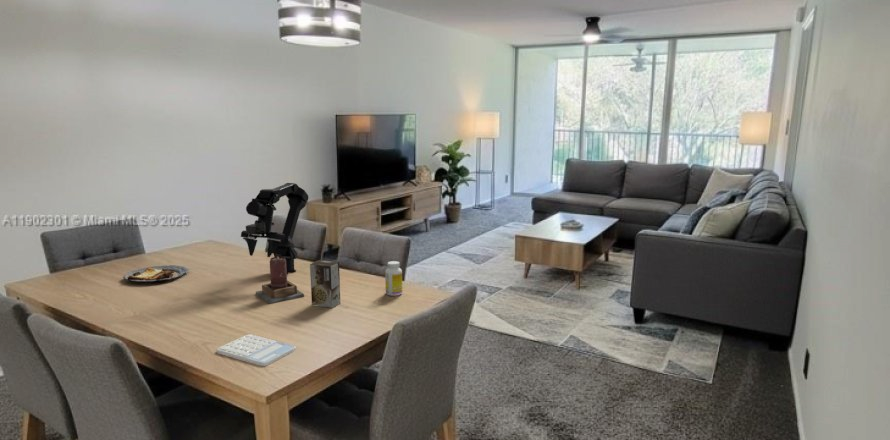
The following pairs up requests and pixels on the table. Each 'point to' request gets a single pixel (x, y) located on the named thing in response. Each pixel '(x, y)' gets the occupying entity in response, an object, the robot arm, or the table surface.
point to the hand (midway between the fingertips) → (259, 256)
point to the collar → (279, 293)
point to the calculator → (256, 350)
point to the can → (278, 273)
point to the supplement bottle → (393, 279)
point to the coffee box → (325, 283)
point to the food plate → (155, 273)
